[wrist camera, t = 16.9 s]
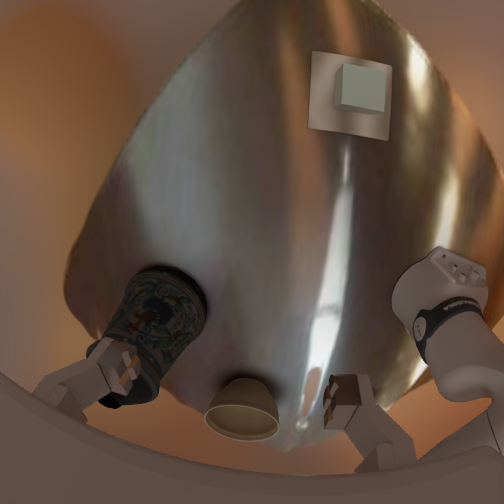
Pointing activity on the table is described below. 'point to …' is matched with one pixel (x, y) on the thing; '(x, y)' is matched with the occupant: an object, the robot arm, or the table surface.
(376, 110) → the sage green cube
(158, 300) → the beer stein
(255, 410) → the planter bowl
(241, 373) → the table surface
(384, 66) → the post stand
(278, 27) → the table surface
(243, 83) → the table surface
